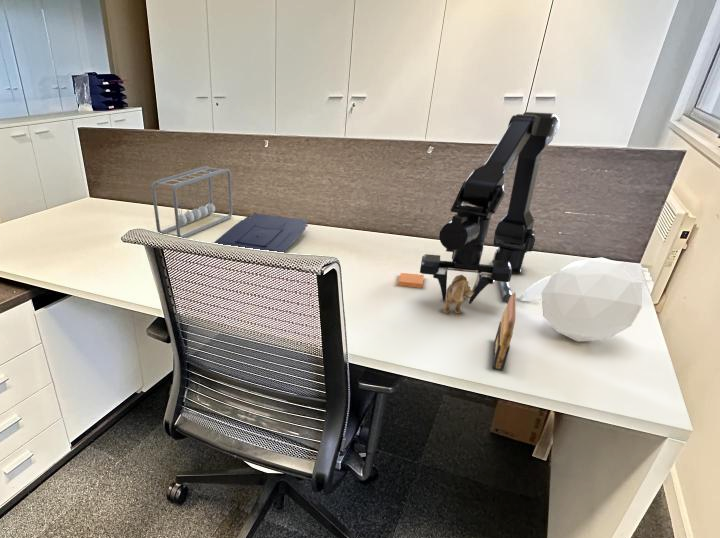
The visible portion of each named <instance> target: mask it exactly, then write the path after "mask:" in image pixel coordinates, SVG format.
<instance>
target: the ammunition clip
mask: <svg viewBox="0 0 720 538" xmlns="http://www.w3.org/2000/svg"><path fill="white" fill-rule="evenodd" d="M515 322H516V292H513V293H512V295H511V297H510V299H509V301H508V302H507V304H506V307H505V309H504V311H503V314H502V317H501V319H500V321H499V324H498V327H497V330H496V334H495V337H494V341H493V349H492V350H493V351H492V362H491V363H492V365H491V369H492V370H497V371H504V368H505V364H506V361H507V358H508V354H509V351H510V349H511V348H510V347H511V345H510V344H511V340H512V338H513V331H514V326H515V324H516V323H515Z"/></svg>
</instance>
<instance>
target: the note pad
mask: <svg viewBox="0 0 720 538" xmlns="http://www.w3.org/2000/svg"><path fill="white" fill-rule="evenodd" d="M399 273H400V274H399V277H398V282H397V286H398V287H399V286H400V287H408V288H417V289H423V286H424V279H425V278H424V277H425V274H418V273H408V272H399Z"/></svg>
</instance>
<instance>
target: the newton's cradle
mask: <svg viewBox="0 0 720 538" xmlns="http://www.w3.org/2000/svg"><path fill="white" fill-rule="evenodd" d="M212 170H215V171H212ZM203 172H204V174H203ZM206 172H207V173H206ZM199 173H201V175H199V176H196V175H198V174H199ZM224 173H227V187H228V188H227V189H228V207H229V209H228V210H229V211H228V212H229V213H228V215H222V214H216V213H215V211H216V206H215V204H214V199H213V181H212V178H213V177H215V176H219V175H221V174H224ZM189 176H192V177H193V178H189ZM185 177H187V178H185ZM178 179H179V181H178V182H177V183H174V182H175V181H176V180H178ZM181 179H184V181H182V180H181ZM206 179H207V182H208V192H207V191H205V193H206V197H207V202H208V203H207V204H206V205H203V204H204V203H205V196H202V197H203V199H202V200H201V196H200V192H199V182H200V181H205V180H206ZM173 181H174V182H173ZM169 182H172V184H171V183H169ZM194 183H195V184H196V191H197V194H198V197H199V200H200V201H199V202H200V203H202V202H203V203H202V204H200V205H201V206H199V207H198V208H197V206H198V205H197V203H198V198H195V199H196V201H195V203H194V202H192V204H193V209H192V210H191V211H190V210H188V207H187V206H185V208H186V212H184V213H183V208H181V210H180V207H179V203H178V199H177V190H178V189H179V188H181V198H183V199H184V204H185V205H187V202H186V199H185V193H184V187H185V186H187V185H188V187H189V192H192V190H191V185H192V184H194ZM157 185H164V186H171V187H172V201H173V210H174V219H175V220H174V221H175V225H173V226H171V227H168V228H165V229H161V225H160V217H159V210H158V199H157V193H156V187H157ZM203 185H204V186H203V190H207V189H206V182H203ZM232 190H233V189H232V172H231V170H230V169H229V168H217V167H210V166H208V165H204V166H201V167H197V168H194V169H191V170H188V171H184V172H181V173H177V174H174V175H170V176H167V177H164V178H161V179H158V180H154V181H153V182H152V184H151V195H152V203H153V210H154V218H155V226H156V231H157V233H158V232H160V233H164V234H166V235H171V236H175V237H178V238H179V237H182V238H183V239H186V238H188V237H190V236H193V235H195V234H197V233H199V232H202V231H204V230H206V229H208V228H211V227H213V226H216V225H218V224H220V223H222V222H225V221H227V220H229V219H231V218H232V216H233V191H232ZM208 195H209V196H208ZM188 197H189V198H188V199H189V200H188V206H191V205H190V204H191V203H190V202H191V200H192V201H194V199H193V194H192V193H190V195H188ZM180 211H181V212H180ZM208 216H218V217H222V218H219V219H217V220H215V221H212V222H210V223H207V224H205V225H202V226H200V227H198V228H195V229H193V230H191V231H189V232H186V233H184V234H181V229H180V228H181V227H184V226H186V225H189V224H191V223H194V222H195V221H198V220H201V219H203V218H207V217H208ZM173 230H176V234H175V233H171V231H173ZM160 233H159V234H160Z"/></svg>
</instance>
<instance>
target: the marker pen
mask: <svg viewBox="0 0 720 538" xmlns="http://www.w3.org/2000/svg"><path fill="white" fill-rule="evenodd" d="M498 285H499V288H500V292H501V297H502V300H503V302H505V303H508V301H509V299H510V297H511V295H512V294H513V293H512V290H511V287H510V284H509V282H500V281H498Z"/></svg>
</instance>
